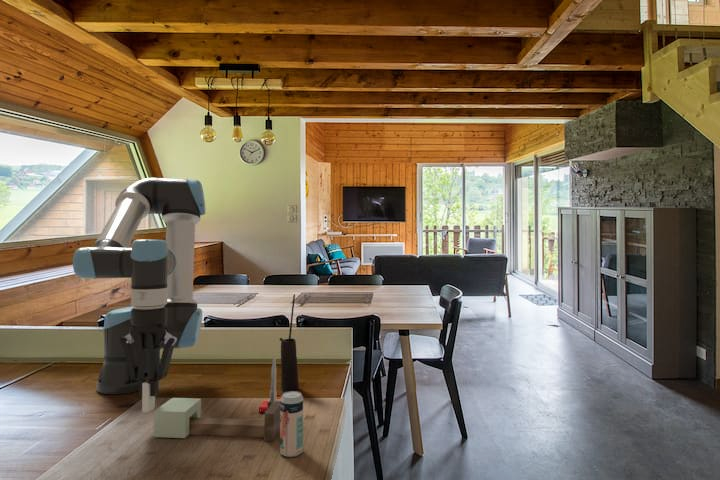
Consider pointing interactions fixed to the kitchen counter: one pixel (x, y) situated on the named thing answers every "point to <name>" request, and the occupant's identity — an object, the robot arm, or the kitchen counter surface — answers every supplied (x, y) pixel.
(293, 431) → the beer can
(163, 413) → the slider
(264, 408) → the tow hook
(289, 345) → the butter churn
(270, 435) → the rail
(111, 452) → the kitchen counter surface
